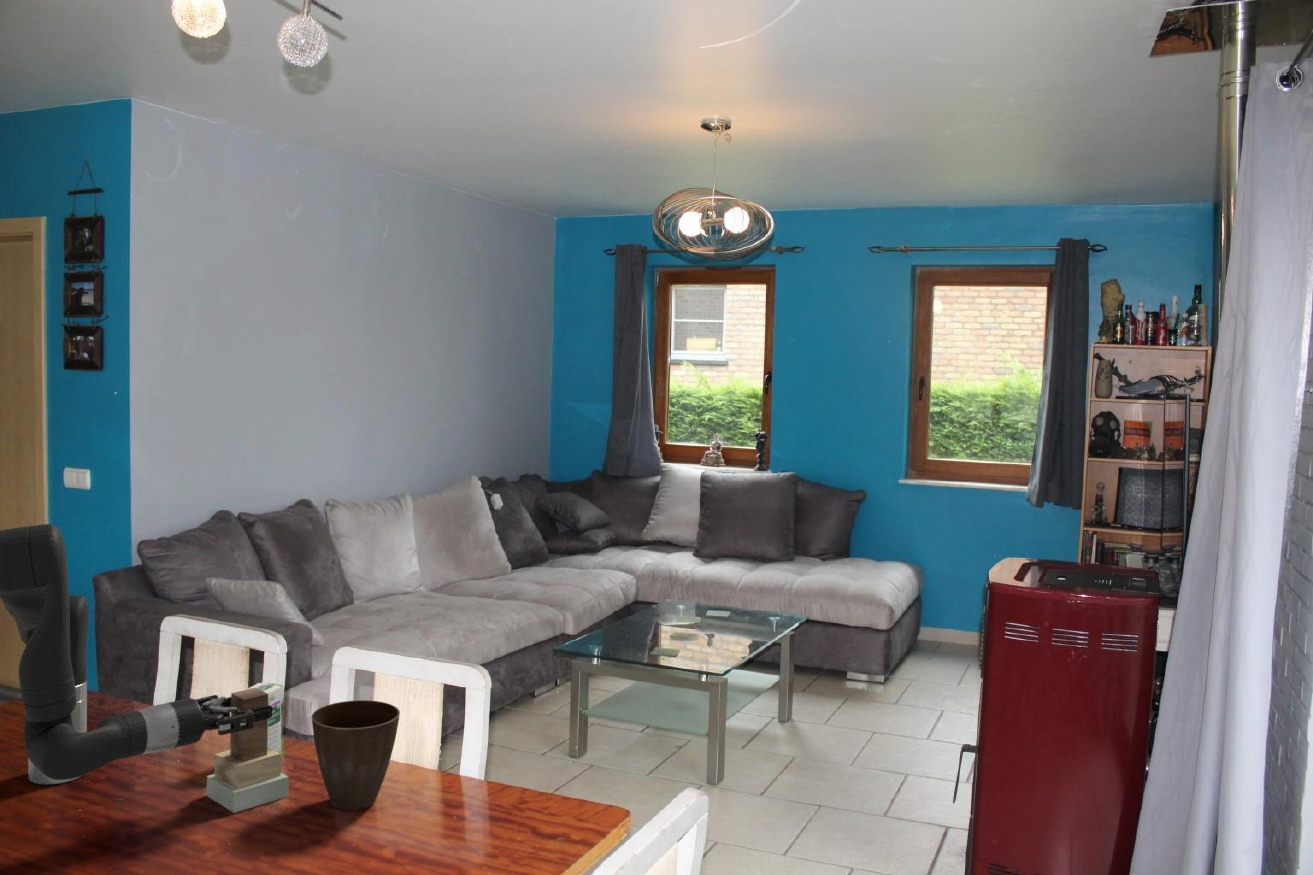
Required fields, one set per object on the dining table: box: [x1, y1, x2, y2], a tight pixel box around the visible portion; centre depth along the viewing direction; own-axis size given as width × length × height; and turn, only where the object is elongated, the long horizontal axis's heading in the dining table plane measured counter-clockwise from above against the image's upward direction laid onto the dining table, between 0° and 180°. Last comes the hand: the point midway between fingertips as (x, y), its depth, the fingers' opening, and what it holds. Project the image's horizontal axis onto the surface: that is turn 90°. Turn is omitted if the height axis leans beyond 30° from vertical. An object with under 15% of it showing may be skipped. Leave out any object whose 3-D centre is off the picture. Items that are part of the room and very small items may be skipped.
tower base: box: [206, 772, 290, 814], centre depth 183 cm, size 10×10×4 cm
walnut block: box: [229, 688, 268, 761], centre depth 183 cm, size 4×4×11 cm
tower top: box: [214, 747, 282, 788], centre depth 183 cm, size 8×8×4 cm
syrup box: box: [245, 682, 284, 759], centre depth 200 cm, size 6×6×14 cm
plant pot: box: [311, 699, 401, 811], centre depth 182 cm, size 15×15×16 cm
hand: (259, 705), depth 184 cm, fingers open, 8 cm apart
